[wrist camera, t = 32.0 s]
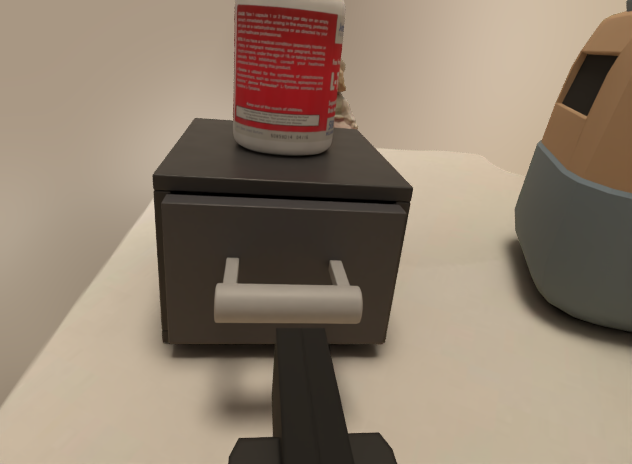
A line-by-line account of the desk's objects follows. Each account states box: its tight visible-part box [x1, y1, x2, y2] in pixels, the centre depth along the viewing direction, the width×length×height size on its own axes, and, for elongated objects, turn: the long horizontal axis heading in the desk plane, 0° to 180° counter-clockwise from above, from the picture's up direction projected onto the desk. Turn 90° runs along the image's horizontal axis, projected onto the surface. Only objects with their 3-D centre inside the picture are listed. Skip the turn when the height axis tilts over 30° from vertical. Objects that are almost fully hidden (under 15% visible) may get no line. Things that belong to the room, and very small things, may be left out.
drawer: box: [161, 191, 406, 344], centre depth 26 cm, size 18×11×8 cm, turn 6°
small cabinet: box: [153, 118, 413, 343], centre depth 30 cm, size 15×13×10 cm
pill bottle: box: [233, 0, 345, 156], centre depth 26 cm, size 6×6×11 cm
